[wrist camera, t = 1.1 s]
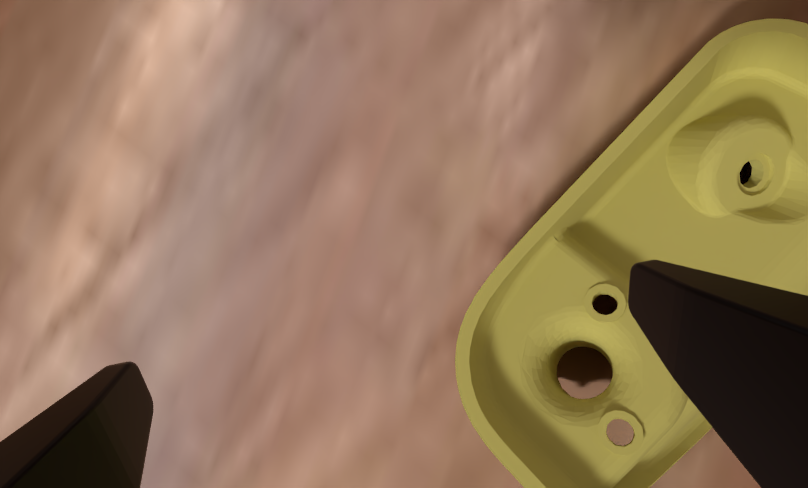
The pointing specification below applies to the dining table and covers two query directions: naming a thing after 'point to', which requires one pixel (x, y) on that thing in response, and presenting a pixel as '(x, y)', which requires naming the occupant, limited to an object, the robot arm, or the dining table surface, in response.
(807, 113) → the plastic component
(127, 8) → the dining table surface
